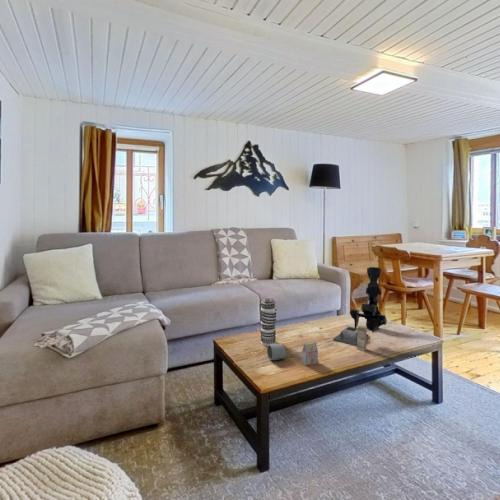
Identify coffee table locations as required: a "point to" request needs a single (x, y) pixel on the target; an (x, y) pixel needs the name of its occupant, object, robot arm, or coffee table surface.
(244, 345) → the coffee table surface
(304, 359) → the small box
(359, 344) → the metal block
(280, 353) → the ceramic mug
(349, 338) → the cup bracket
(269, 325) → the decorative candle
